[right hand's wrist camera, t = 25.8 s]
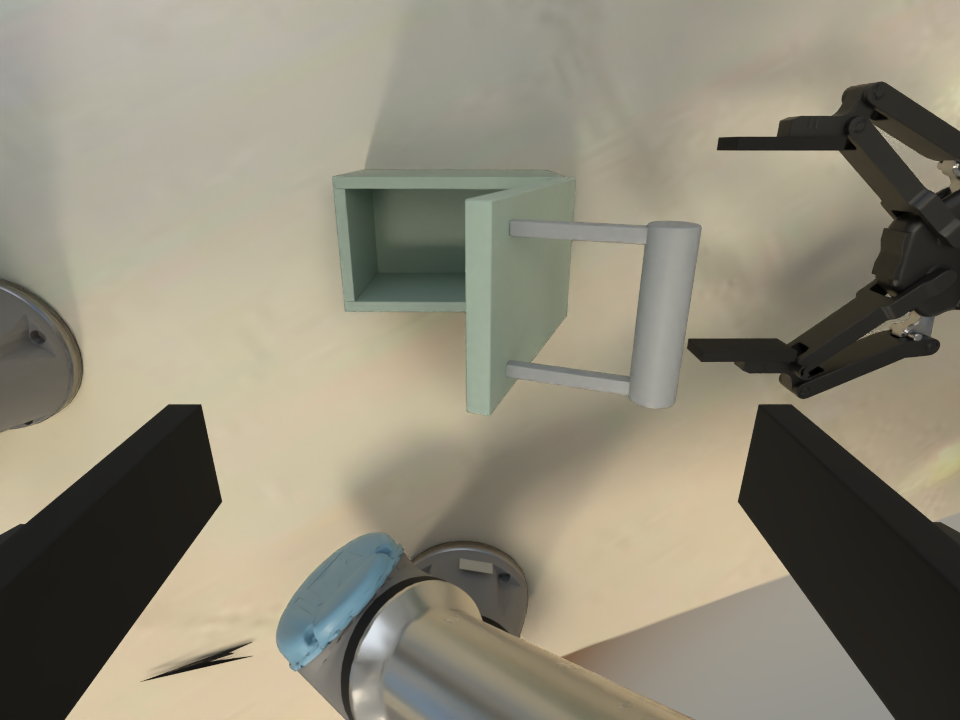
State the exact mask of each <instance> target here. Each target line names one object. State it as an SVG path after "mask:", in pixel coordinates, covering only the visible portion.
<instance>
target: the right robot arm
mask: <svg viewBox="0 0 960 720" xmlns="http://www.w3.org/2000/svg"><path fill="white" fill-rule="evenodd" d="M81 376H82V364H81V358H80V353H79V350H78V347H77V344H76V342H75V340H74V338H73V336H72V334H71V332H70V331H69V329H68V327H67V326H66V324H65V323H64V322H63V321H62V319H61V318H60V317H59V316H58V315H57V313H56V312H55V311H54V310H53V309H52V308H51V307H50V306H48V305H47V304H46V303H45V302H44V301H42V300H41V299H40V298H38V297H37V296H36V295H34V294H33V293H31V292H29V291H28V290H26V289H24V288H22V287H20V286H18V285H16V284H13V283H11V282H8V281H5V280H2V279H0V432H3V431H6V430H8V429H18V428H23V427H27V426H31V425H34V424H37V423H40V422H42V421H44V420H46V419H48V418H50V417H51V416H53V415H54V414H56V413H58V412H59V411H61V410H62V409H63V408H65V407H66V406H67V405H68V404H69V403H70V402H71V401H72V400H73V398H74V397H75V395H76V393H77V391H78V389H79V386H80V382H81ZM221 503H222V499H221V494H220V490H219V485H218V480H217V476H216V471H215V466H214V462H213V457H212V453H211V448H210V443H209V439H208V434H207V429H206V425H205V420H204V415H203V411H202V406H201V404H169V405H167V406H166V407H165V408H164V409H163V410H161V411H160V412H159V413H158V414H157V415H155V416H154V417H153V418H152V419H151V420H149V421H148V422H147V423H146V424H145V425H143V426H142V427H141V428H140V429H139V430H137V431H136V432H135V433H134V434H133V435H131V436H130V437H129V438H128V439H127V440H125V441H124V442H123V443H122V444H121V445H119V446H118V447H117V448H116V449H115V450H113V451H112V452H111V453H110V454H109V455H107V456H106V457H105V458H104V459H103V460H102V461H100V462H99V463H98V464H97V465H96V466H94V467H93V468H92V469H91V470H90V471H88V472H87V473H86V474H85V475H84V476H82V477H81V478H80V479H79V480H78V481H76V482H75V483H74V484H73V485H72V486H70V487H69V488H68V489H67V490H66V491H64V492H63V493H62V494H61V495H60V496H58V497H57V498H56V499H55V500H54V501H52V502H51V503H50V504H49V505H48V506H46V507H45V508H44V509H43V510H42V511H40V512H39V513H38V514H37V515H36V516H34V517H33V518H32V519H31V520H30V521H28V522H27V523H26V524H19V525H18V526H16V527H14V528H12V529H10V530H8V531H7V532H5V533H3V534H1V535H0V720H65V719H66V717H67V716H68V714H69V713H70V712H71V710H72V709H73V707H74V706H75V705H76V703H77V702H78V701H79V699H80V698H81V696H82V695H83V694H84V692H85V691H86V689H87V688H88V687H89V685H90V684H91V683H92V681H93V680H94V678H95V677H96V676H97V674H98V673H99V671H100V670H101V669H102V667H103V666H104V665H105V663H106V662H107V660H108V659H109V658H110V656H111V655H112V653H113V652H114V651H115V649H116V648H117V647H118V645H119V644H120V642H121V641H122V640H123V638H124V637H125V635H126V634H127V633H128V631H129V630H130V629H131V627H132V626H133V624H134V623H135V622H136V620H137V619H138V617H139V616H140V615H141V613H142V612H143V611H144V609H145V608H146V606H147V605H148V604H149V602H150V601H151V599H152V598H153V597H154V595H155V594H156V593H157V591H158V590H159V588H160V587H161V586H162V584H163V583H164V581H165V580H166V579H167V577H168V576H169V575H170V573H171V572H172V570H173V569H174V568H175V566H176V565H177V563H178V562H179V561H180V559H181V558H182V557H183V555H184V554H185V552H186V551H187V550H188V548H189V547H190V545H191V544H192V543H193V541H194V540H195V539H196V537H197V536H198V534H199V533H200V532H201V530H202V529H203V527H204V526H205V525H206V523H207V522H208V521H209V519H210V518H211V516H212V515H213V514H214V512H215V511H216V509H217V508H218V507H219V505H220V504H221ZM738 503H739V504H740V505H741V507H742V508H743V509H744V511H745V512H746V514H747V515H748V516H749V518H750V519H751V521H752V522H753V523H754V525H755V526H756V527H757V529H758V530H759V532H760V533H761V534H762V536H763V537H764V539H765V540H766V541H767V543H768V544H769V545H770V547H771V548H772V550H773V551H774V552H775V554H776V555H777V557H778V558H779V559H780V561H781V562H782V563H783V565H784V566H785V568H786V569H787V570H788V572H789V573H790V575H791V576H792V577H793V579H794V580H795V581H796V583H797V584H798V585H799V587H800V588H801V590H802V591H803V593H804V594H805V595H806V597H807V598H808V599H809V601H810V602H811V604H812V605H813V606H814V608H815V609H816V610H817V612H818V613H819V615H820V616H821V617H822V619H823V620H824V622H825V623H826V624H827V626H828V627H829V629H830V630H831V631H832V633H833V634H834V635H835V637H836V638H837V640H838V641H839V642H840V644H841V645H842V646H843V648H844V649H845V651H846V652H847V653H848V655H849V656H850V658H851V659H852V660H853V662H854V663H855V664H856V666H857V667H858V669H859V670H860V671H861V673H862V674H863V676H864V677H865V678H866V680H867V681H868V682H869V684H870V685H871V687H872V688H873V689H874V691H875V692H876V694H877V695H878V696H879V698H880V699H881V701H882V702H883V703H884V705H885V706H886V707H887V709H888V710H889V712H890V713H891V714H892V716H893V717H894V718H895V720H960V533H959V532H958V531H956V530H954V529H952V528H950V527H948V526H947V525H945V524H943V523H941V522H932V521H930V520H929V519H928V518H927V517H926V516H924V515H923V514H922V513H921V512H920V511H918V510H917V509H916V508H915V507H914V506H912V505H911V504H910V503H909V502H908V501H906V500H905V499H904V498H903V497H902V496H900V495H899V494H898V493H897V492H896V491H894V490H893V489H892V488H891V487H890V486H888V485H887V484H886V483H885V482H884V481H882V480H881V479H880V478H879V477H878V476H876V475H875V474H874V473H873V472H872V471H870V470H869V469H868V468H867V467H866V466H864V465H863V464H862V463H861V462H860V461H858V460H857V459H856V458H855V457H854V456H852V455H851V454H850V453H849V452H848V451H847V450H845V449H844V448H843V447H842V446H841V445H839V444H838V443H837V442H836V441H835V440H833V439H832V438H831V437H830V436H829V435H827V434H826V433H825V432H824V431H823V430H821V429H820V428H819V427H818V426H817V425H815V424H814V423H813V422H812V421H811V420H809V419H808V418H807V417H806V416H805V415H803V414H802V413H801V412H800V411H799V410H797V409H796V408H795V407H794V406H793V405H791V404H759V406H758V411H757V415H756V420H755V425H754V429H753V434H752V439H751V443H750V448H749V452H748V457H747V462H746V466H745V471H744V476H743V480H742V485H741V490H740V494H739V499H738Z"/></svg>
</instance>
